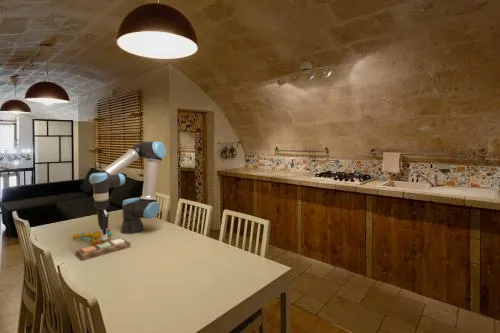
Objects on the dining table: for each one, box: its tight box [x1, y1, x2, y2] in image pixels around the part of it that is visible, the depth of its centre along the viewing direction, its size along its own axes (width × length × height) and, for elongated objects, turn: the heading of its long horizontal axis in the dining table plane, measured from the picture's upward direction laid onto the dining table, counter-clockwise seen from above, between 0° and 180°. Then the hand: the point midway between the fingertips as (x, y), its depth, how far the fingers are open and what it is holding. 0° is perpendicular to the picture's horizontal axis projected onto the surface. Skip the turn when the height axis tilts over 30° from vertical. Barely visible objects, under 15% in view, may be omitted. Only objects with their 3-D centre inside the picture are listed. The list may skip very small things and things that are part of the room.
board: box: [75, 238, 131, 261], centre depth 165 cm, size 26×12×3 cm, turn 136°
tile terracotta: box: [80, 245, 96, 254], centre depth 159 cm, size 6×6×2 cm
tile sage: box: [96, 241, 111, 249], centre depth 165 cm, size 6×6×2 cm
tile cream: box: [110, 238, 125, 246], centre depth 171 cm, size 6×6×2 cm
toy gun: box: [72, 226, 113, 246], centre depth 177 cm, size 8×27×15 cm
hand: (104, 239), depth 165 cm, fingers closed
